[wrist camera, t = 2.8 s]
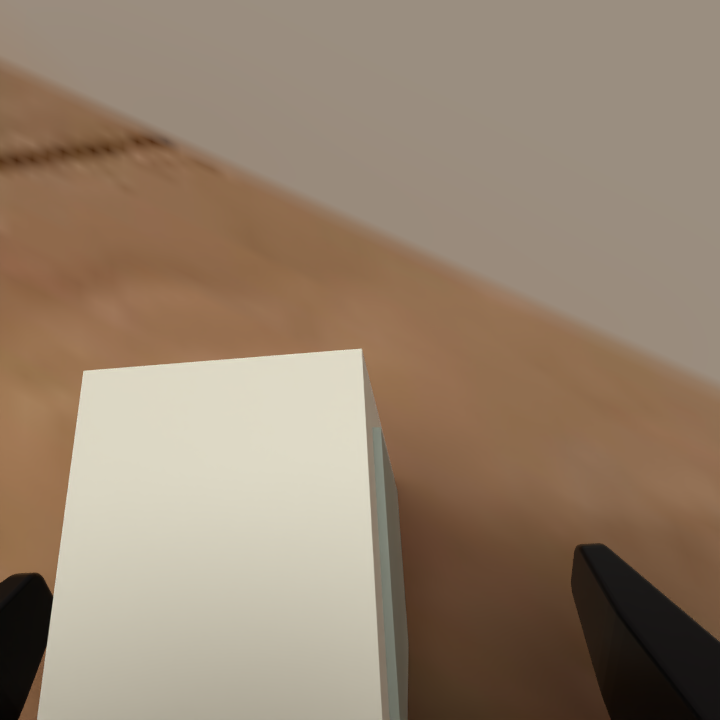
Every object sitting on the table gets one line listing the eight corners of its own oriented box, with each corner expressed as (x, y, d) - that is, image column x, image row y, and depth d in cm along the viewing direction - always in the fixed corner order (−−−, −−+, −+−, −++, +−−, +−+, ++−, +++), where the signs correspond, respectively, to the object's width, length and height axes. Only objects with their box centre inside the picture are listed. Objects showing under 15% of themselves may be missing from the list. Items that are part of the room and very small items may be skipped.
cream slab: (410, 653, 15) (412, 1004, 4) (301, 657, 15) (-13, 1001, 4) (397, 477, 17) (370, 347, 5) (299, 483, 17) (74, 371, 6)
